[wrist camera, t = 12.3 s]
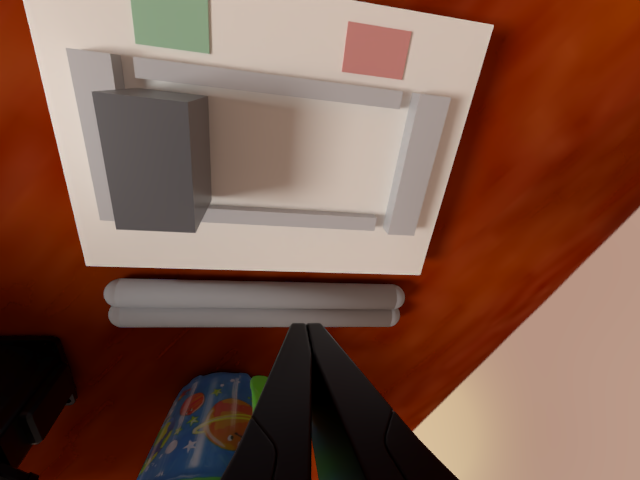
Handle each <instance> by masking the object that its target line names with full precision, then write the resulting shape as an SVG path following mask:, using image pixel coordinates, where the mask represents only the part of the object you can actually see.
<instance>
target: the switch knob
mask: <svg viewBox="0 0 640 480" xmlns="http://www.w3.org/2000/svg"><path fill="white" fill-rule="evenodd" d="M91 92H92V97H93V103H94V108H95V114H96V119H97V125H98V131H99V136H100V142H101V147H102V153H103V159H104V164H105V170H106V175H107V181H108V187H109V192H110V198H111V203H112V209H113V215H114V220H115V226H116V229H118V230H140V231H162V232H184V233H196V231H197V229H198V227H199V225H200V223H201V221H202V219H203V217H204V215H205V213H206V211H207V209H208V207H209V205H210V203H211V201H212V194H211V165H210V136H209V106H208V96H204V95H195V94H187V93H178V92H169V91H160V90H152V89H143V88H128V89H116V90H104V91H91Z"/></svg>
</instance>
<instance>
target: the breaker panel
mask: <svg viewBox="0 0 640 480" xmlns="http://www.w3.org/2000/svg"><path fill="white" fill-rule="evenodd" d="M23 2H24V7H25V11H26V15H27V19H28V23H29V28H30V32H31V36H32V40H33V45H34V49H35V53H36V57H37V61H38V66H39V70H40V74H41V78H42V83H43V87H44V91H45V95H46V99H47V104H48V108H49V112H50V116H51V120H52V125H53V129H54V133H55V137H56V142H57V146H58V150H59V154H60V158H61V163H62V167H63V171H64V175H65V180H66V184H67V188H68V192H69V196H70V201H71V205H72V209H73V213H74V217H75V222H76V226H77V230H78V234H79V239H80V243H81V247H82V251H83V255H84V260H85V264H86V266H105V267H142V268H179V269H215V270H252V271H289V272H326V273H363V274H400V275H420V274H421V270H422V267H423V263H424V260H425V257H426V253H427V250H428V247H429V243H430V240H431V236H432V233H433V230H434V226H435V223H436V220H437V216H438V213H439V209H440V206H441V203H442V199H443V196H444V193H445V189H446V186H447V182H448V179H449V176H450V172H451V169H452V166H453V162H454V159H455V155H456V152H457V149H458V145H459V142H460V139H461V135H462V132H463V128H464V125H465V122H466V118H467V115H468V112H469V108H470V105H471V101H472V98H473V95H474V91H475V88H476V85H477V81H478V78H479V74H480V71H481V68H482V64H483V61H484V58H485V54H486V51H487V47H488V44H489V41H490V37H491V34H492V31H493V27H494V25H491V24H486V23H480V22H474V21H469V20H463V19H457V18H451V17H446V16H440V15H434V14H429V13H423V12H417V11H412V10H406V9H400V8H394V7H389V6H383V5H377V4H372V3H366V2H360V1H355V0H23ZM128 88H143V89H152V90H160V91H169V92H178V93H187V94H195V95H204V96H208V106H209V136H210V165H211V194H212V201H211V203H210V205H209V207H208V209H207V211H206V213H205V215H204V217H203V219H202V221H201V223H200V225H199V227H198V229H197V231H196V233H184V232H162V231H140V230H118V229H116V226H115V220H114V215H113V209H112V203H111V198H110V192H109V187H108V181H107V175H106V170H105V164H104V159H103V153H102V147H101V142H100V136H99V131H98V125H97V119H96V114H95V108H94V103H93V97H92V92H91V91H104V90H116V89H128Z"/></svg>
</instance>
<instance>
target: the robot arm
mask: <svg viewBox="0 0 640 480" xmlns="http://www.w3.org/2000/svg"><path fill="white" fill-rule="evenodd" d="M50 343H51V344H50ZM75 388H76V387H75V384H74V381H73V378H72V375H71V371H70V368H69V365H68V364H67V361H66V358H65V354H64V351H63V348H62V345H61V342H60V340H59V339H58V338H57V337H54V336H0V480H38V478H39V475H36V474H34V473H32V472H30V473H27V472H24V471H22V470H20V469H17V468H18V467H19V465H20V463H21V462H22V460H23V459H24V457H25V456H26V454H27V453H28V451H29V450H30V448H31V447H32V445H33V444H39V443H40V442H41V441H43V439H44V438H45V436H46V435H47V433H48V432H49V430H50V428H51V427H52V425H53V424H54V422H55V420H56V419H57V417H58V416H59V414H60V413H61V411H62V409H63V408H64V406H65V405H72V404H74V403H75V401H76V399H77V398H78V396H77V392H76V389H75ZM311 437H312V443H313V448H314V454H315V460H316V466H317V472H318V478H319V480H459V479H458V478H457V477H456V476H455V475H453V473H452V472H451V471H449V469H448V468H446V466H445V465H444V464H442V463H441V461H440V460H438V459H437V457H436V456H435V455H434V454H433V453H432V452H431V451H430V450H429V449H428V448H427V447H426V446H425V445H424V444H423V443H422V442H421V441H420V440H419V439H418V438H417V436H416V435H415V434H414V433H413V432H412V431H411V430H410V428H409V427H408V426H407V425H406V424H405V423H404V422H403V420H402V419H401V418H400V417H399V416H398V414H397V413H396V412H395V411H393V409H392V407H391V406H390V405H389V404H388V403H387V402H386V400H385V399H384V398H383V397H382V396H381V394H380V393H379V392H378V391H377V390H376V388H375V387H374V386H373V385H372V384H371V382H370V381H369V380H368V379H367V378H366V377H365V375H364V374H363V373H362V372H361V371H360V369H359V368H358V367H357V366H356V365H355V363H354V362H353V361H352V360H351V359H350V357H349V356H348V355H347V354H346V353H345V352H344V350H343V349H342V348H341V347H340V346H339V344H338V343H337V342H336V341H335V340H334V338H333V337H332V336H331V335H330V334H329V332H328V331H327V330H326V329H325V328H324V326H323V325H322V324H321V323H307V324H305V323H292V324H291V325H290V327H289V330H288V332H287V334H286V337H285V339H284V341H283V344H282V346H281V348H280V351H279V353H278V355H277V358H276V360H275V362H274V365H273V367H272V369H271V372H270V374H269V376H268V379H267V381H266V383H265V386H264V388H263V390H262V393H261V395H260V397H259V400H258V402H257V404H256V407H255V409H254V411H253V413H252V416H251V419H250V420H249V422H248V425H247V427H246V429H245V432H244V434H243V436H242V438H241V440H240V442H239V444H238V447H237V449H236V451H235V453H234V455H233V457H232V459H231V460H230V462H229V464H228V466H227V468H226V470H225V471H224V473H223V475H222V477H221V479H220V480H311Z"/></svg>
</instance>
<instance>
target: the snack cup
mask: <svg viewBox="0 0 640 480" xmlns="http://www.w3.org/2000/svg"><path fill="white" fill-rule="evenodd" d="M267 379H268V377H266V376H261V375H258V376H253V377H252V378H251V377H250V376H249V375H248V374H246V373H228V372H219V373H211V374H208V375H205V376H202V375H199V376H197V377H195V378H194V379H192V380H191V382H190V383H189V384H188V385H186V386H184V387H183V388H182V389H181V391H180V392H179V394H178V396H177V397H176V399H175V401H174V403H173V404H172V406H171V408H170V410H169V412H168V414H167V417H166V419H165V421H164V423H163V425H162V427H161V429H160V431H159V433H158V435H157V437H156V439H155V442H154V444H153V446H152V448H151V450H150V452H149V454H148V456H147V458H146V460H145V462H144V465H143V467H142V469H141V471H140V473H139V475H138V478H137V480H220V479H221V477H222V475H223V473H224V471H225V470H226V468H227V466H228V464H229V462H230V460H231V459H232V457H233V455H234V453H235V451H236V449H237V447H238V444H239V442H240V440H241V438H242V436H243V434H244V432H245V429H246V427H247V425H248V422H249V420H250V419H251V416H252V413H253V411H254V409H255V407H256V404H257V402H258V400H259V397H260V395H261V393H262V390H263V388H264V386H265V383H266V381H267Z"/></svg>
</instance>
